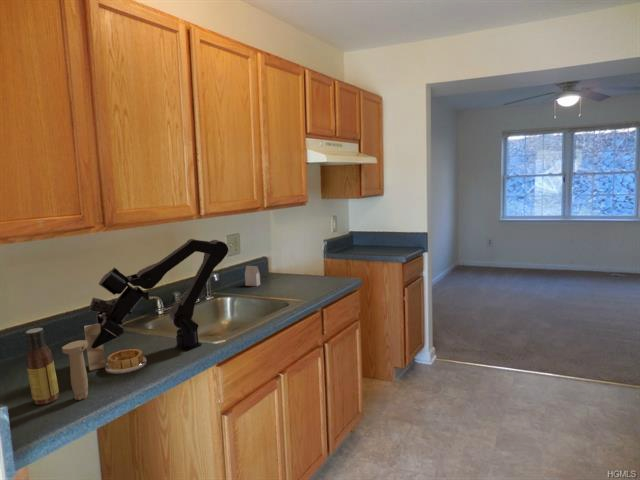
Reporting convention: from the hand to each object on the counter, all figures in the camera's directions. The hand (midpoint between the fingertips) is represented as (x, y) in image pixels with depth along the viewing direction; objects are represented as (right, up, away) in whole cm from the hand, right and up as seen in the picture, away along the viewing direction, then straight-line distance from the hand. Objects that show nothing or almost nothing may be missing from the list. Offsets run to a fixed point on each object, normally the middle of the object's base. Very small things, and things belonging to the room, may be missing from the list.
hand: (91, 343), depth 147 cm
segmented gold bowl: (+10, -7, +1) cm, 13 cm away
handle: (+7, -11, -20) cm, 23 cm away
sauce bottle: (-2, -11, -20) cm, 23 cm away
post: (+1, -8, +2) cm, 8 cm away
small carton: (+36, +8, +101) cm, 107 cm away
